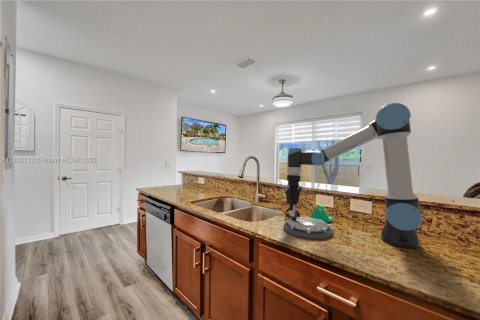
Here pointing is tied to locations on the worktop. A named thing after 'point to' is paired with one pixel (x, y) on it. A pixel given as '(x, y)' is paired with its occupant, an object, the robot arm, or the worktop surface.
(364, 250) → the worktop surface
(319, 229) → the index wheel
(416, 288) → the worktop surface
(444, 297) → the worktop surface
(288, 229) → the base
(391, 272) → the worktop surface
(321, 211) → the camera mount
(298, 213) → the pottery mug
